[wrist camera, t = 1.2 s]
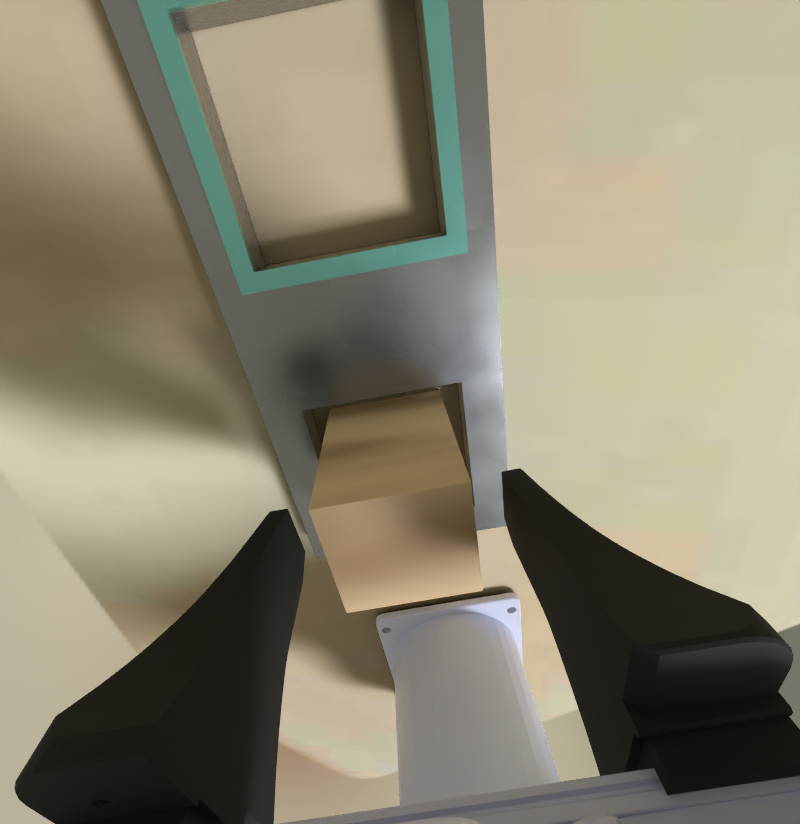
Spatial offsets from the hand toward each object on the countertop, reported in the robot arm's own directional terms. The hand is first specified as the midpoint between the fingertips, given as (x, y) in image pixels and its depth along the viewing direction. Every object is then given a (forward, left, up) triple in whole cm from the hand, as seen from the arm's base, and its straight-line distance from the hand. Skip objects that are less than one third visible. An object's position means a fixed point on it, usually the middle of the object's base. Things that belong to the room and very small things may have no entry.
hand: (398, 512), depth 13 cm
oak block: (0, 0, -4) cm, 4 cm away
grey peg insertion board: (+5, 0, -4) cm, 7 cm away
